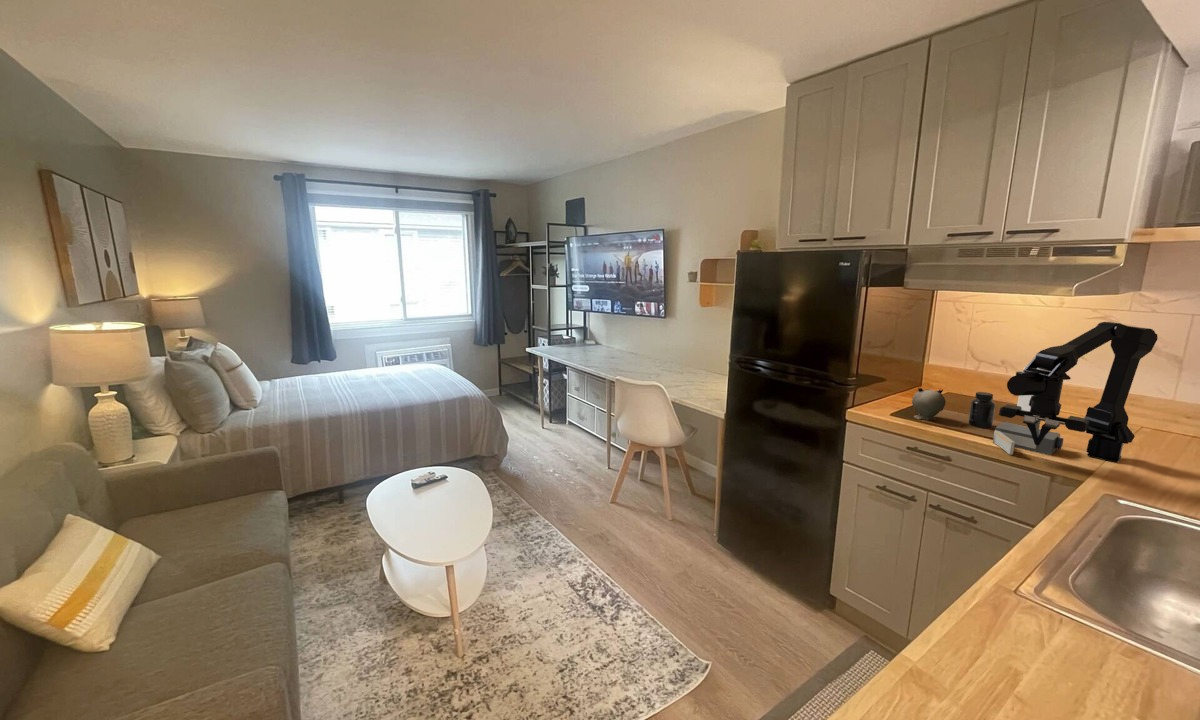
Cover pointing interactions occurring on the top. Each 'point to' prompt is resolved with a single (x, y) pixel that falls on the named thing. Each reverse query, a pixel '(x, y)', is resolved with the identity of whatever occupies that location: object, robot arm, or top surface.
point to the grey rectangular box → (1030, 438)
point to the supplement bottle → (982, 410)
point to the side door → (1004, 442)
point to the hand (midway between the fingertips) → (1037, 444)
